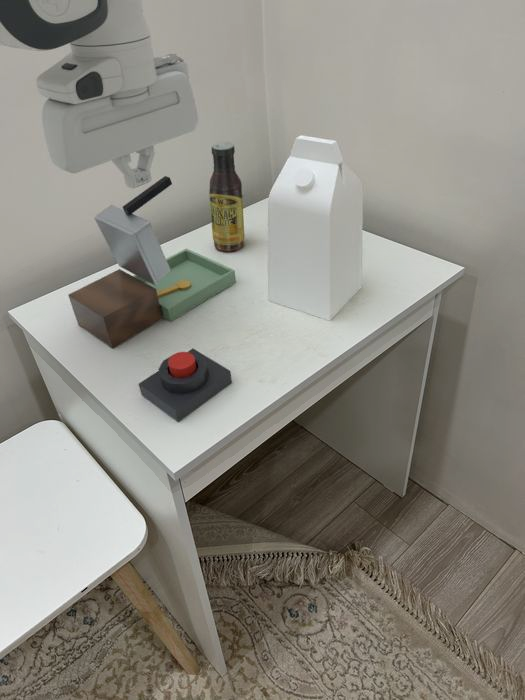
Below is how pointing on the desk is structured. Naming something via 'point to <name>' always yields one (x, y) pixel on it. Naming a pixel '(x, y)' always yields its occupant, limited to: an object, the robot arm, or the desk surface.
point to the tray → (203, 279)
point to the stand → (116, 307)
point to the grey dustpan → (135, 236)
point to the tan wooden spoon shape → (175, 288)
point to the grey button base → (185, 386)
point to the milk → (315, 230)
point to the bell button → (182, 364)
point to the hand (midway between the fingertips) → (139, 184)
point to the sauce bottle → (226, 200)
